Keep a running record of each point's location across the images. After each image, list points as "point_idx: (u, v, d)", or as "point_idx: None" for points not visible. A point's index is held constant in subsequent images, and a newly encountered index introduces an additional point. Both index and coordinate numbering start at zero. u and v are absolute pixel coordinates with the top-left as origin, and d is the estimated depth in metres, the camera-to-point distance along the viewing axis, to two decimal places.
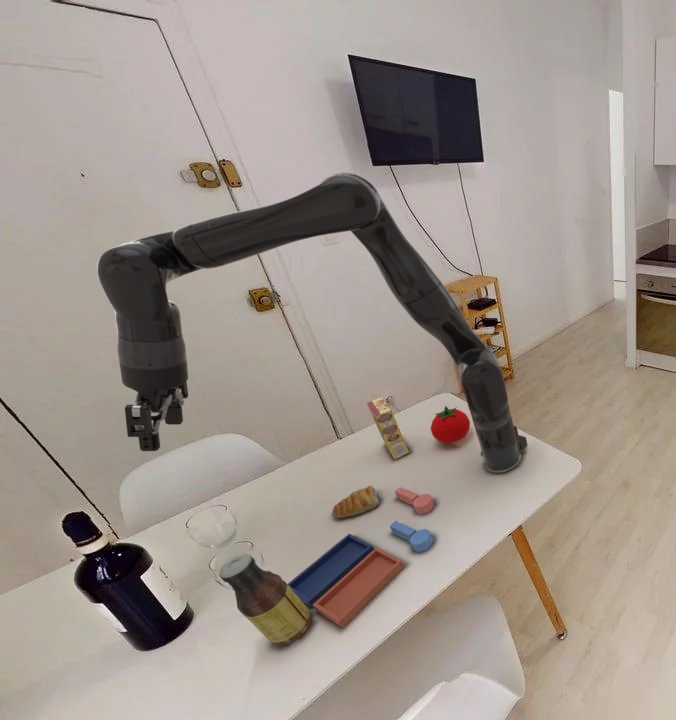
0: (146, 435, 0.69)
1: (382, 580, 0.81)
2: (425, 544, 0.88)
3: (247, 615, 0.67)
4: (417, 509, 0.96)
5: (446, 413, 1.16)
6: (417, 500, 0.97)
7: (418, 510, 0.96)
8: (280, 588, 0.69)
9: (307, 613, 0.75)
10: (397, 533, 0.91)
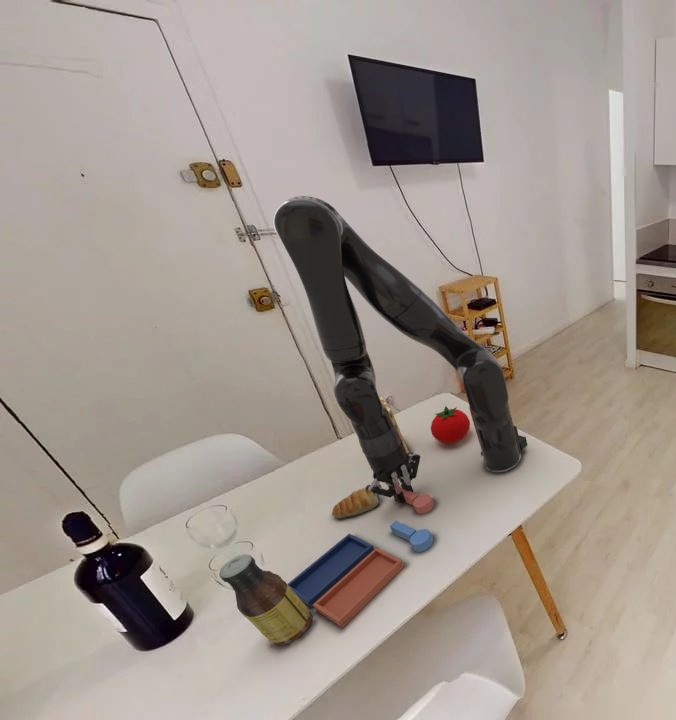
0: (388, 496, 0.95)
1: (382, 580, 0.81)
2: (425, 544, 0.88)
3: (247, 615, 0.67)
4: (417, 509, 0.96)
5: (446, 413, 1.16)
6: (417, 500, 0.97)
7: (418, 510, 0.96)
8: (280, 588, 0.69)
9: (307, 613, 0.75)
10: (397, 533, 0.91)
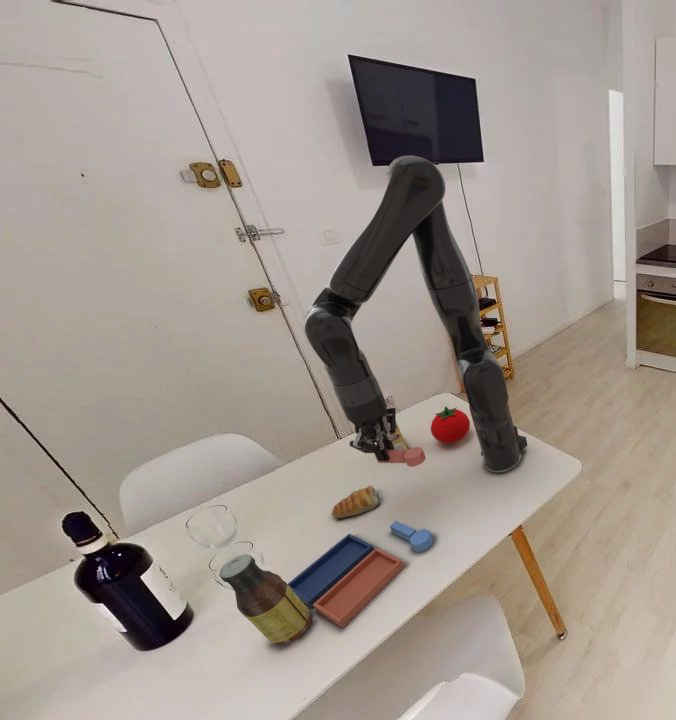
0: (373, 452, 0.88)
1: (382, 580, 0.81)
2: (425, 544, 0.88)
3: (247, 615, 0.67)
4: (411, 461, 0.92)
5: (446, 413, 1.16)
6: (406, 454, 0.93)
7: (412, 462, 0.92)
8: (280, 588, 0.69)
9: (307, 613, 0.75)
10: (397, 533, 0.91)
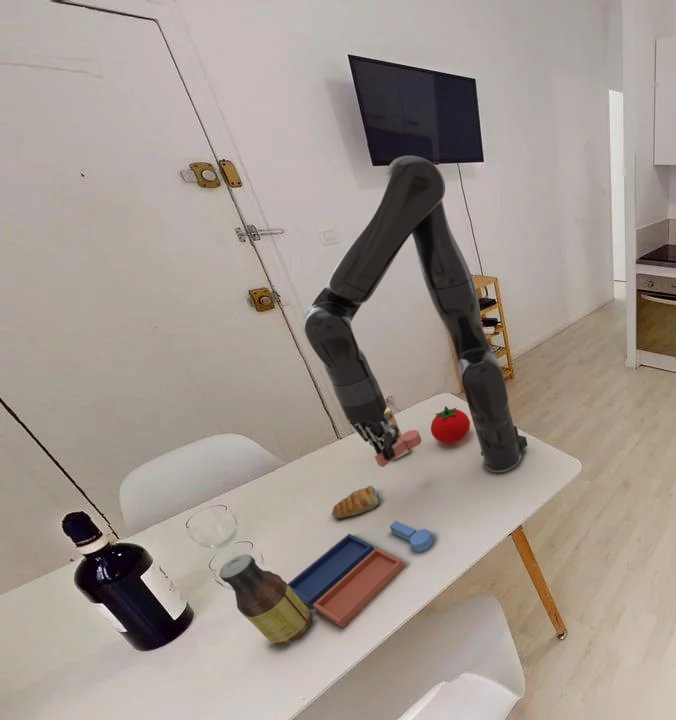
0: (395, 442, 0.91)
1: (382, 580, 0.81)
2: (425, 544, 0.88)
3: (247, 615, 0.67)
4: (417, 439, 0.98)
5: (446, 413, 1.16)
6: (406, 438, 0.97)
7: (418, 439, 0.99)
8: (280, 588, 0.69)
9: (307, 613, 0.75)
10: (397, 533, 0.91)
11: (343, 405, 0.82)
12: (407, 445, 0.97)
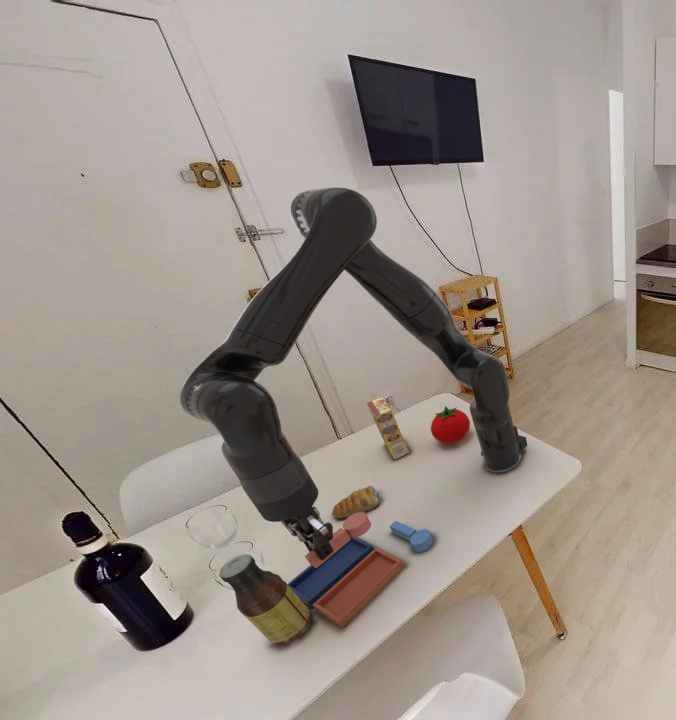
0: (331, 538, 0.70)
1: (382, 580, 0.81)
2: (425, 544, 0.88)
3: (247, 615, 0.67)
4: (364, 525, 0.78)
5: (446, 413, 1.16)
6: (350, 526, 0.77)
7: (366, 526, 0.78)
8: (280, 588, 0.69)
9: (307, 613, 0.75)
10: (397, 533, 0.91)
11: (253, 502, 0.62)
12: (351, 534, 0.77)
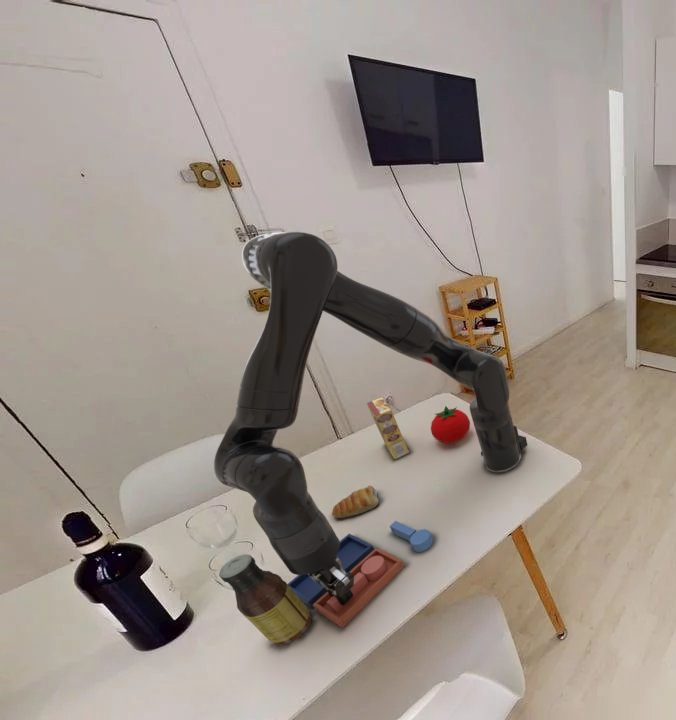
0: (351, 585, 0.75)
1: (382, 580, 0.81)
2: (425, 544, 0.88)
3: (247, 615, 0.67)
4: (381, 569, 0.82)
5: (446, 413, 1.16)
6: (368, 570, 0.81)
7: (383, 569, 0.83)
8: (280, 588, 0.69)
9: (307, 613, 0.75)
10: (397, 533, 0.91)
11: (281, 558, 0.67)
12: (369, 578, 0.81)
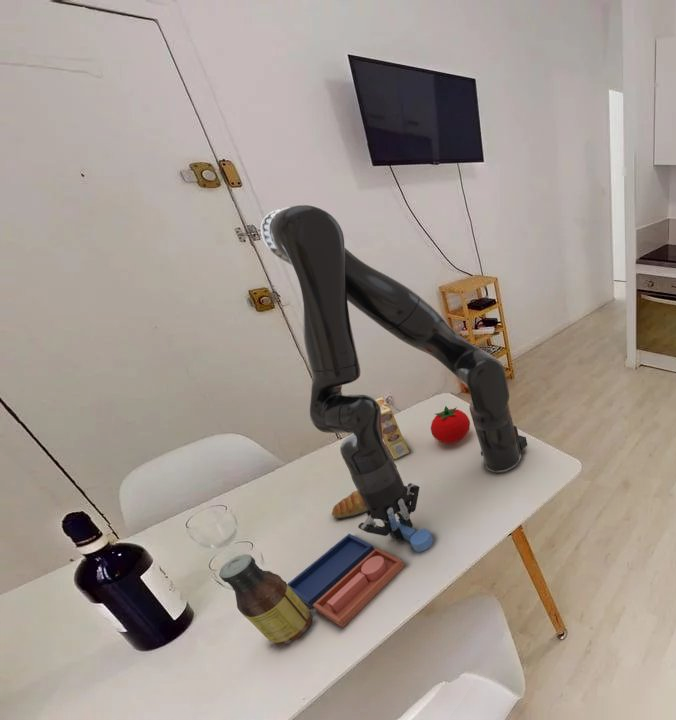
0: None
1: (382, 580, 0.81)
2: (425, 544, 0.88)
3: (247, 615, 0.67)
4: (381, 569, 0.82)
5: (446, 413, 1.16)
6: (368, 570, 0.81)
7: (383, 569, 0.83)
8: (280, 588, 0.69)
9: (307, 613, 0.75)
10: None
11: (390, 483, 0.82)
12: (369, 578, 0.81)
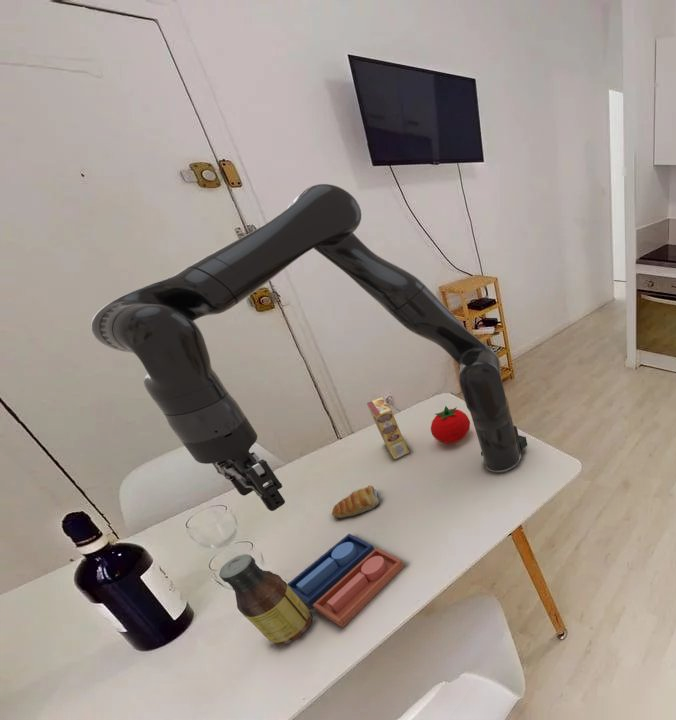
0: (219, 470, 0.70)
1: (382, 580, 0.81)
2: (354, 546, 0.87)
3: (247, 615, 0.67)
4: (381, 569, 0.82)
5: (446, 413, 1.16)
6: (368, 570, 0.81)
7: (383, 569, 0.83)
8: (280, 588, 0.69)
9: (307, 613, 0.75)
10: (314, 584, 0.81)
11: None
12: (369, 578, 0.81)
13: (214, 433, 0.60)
